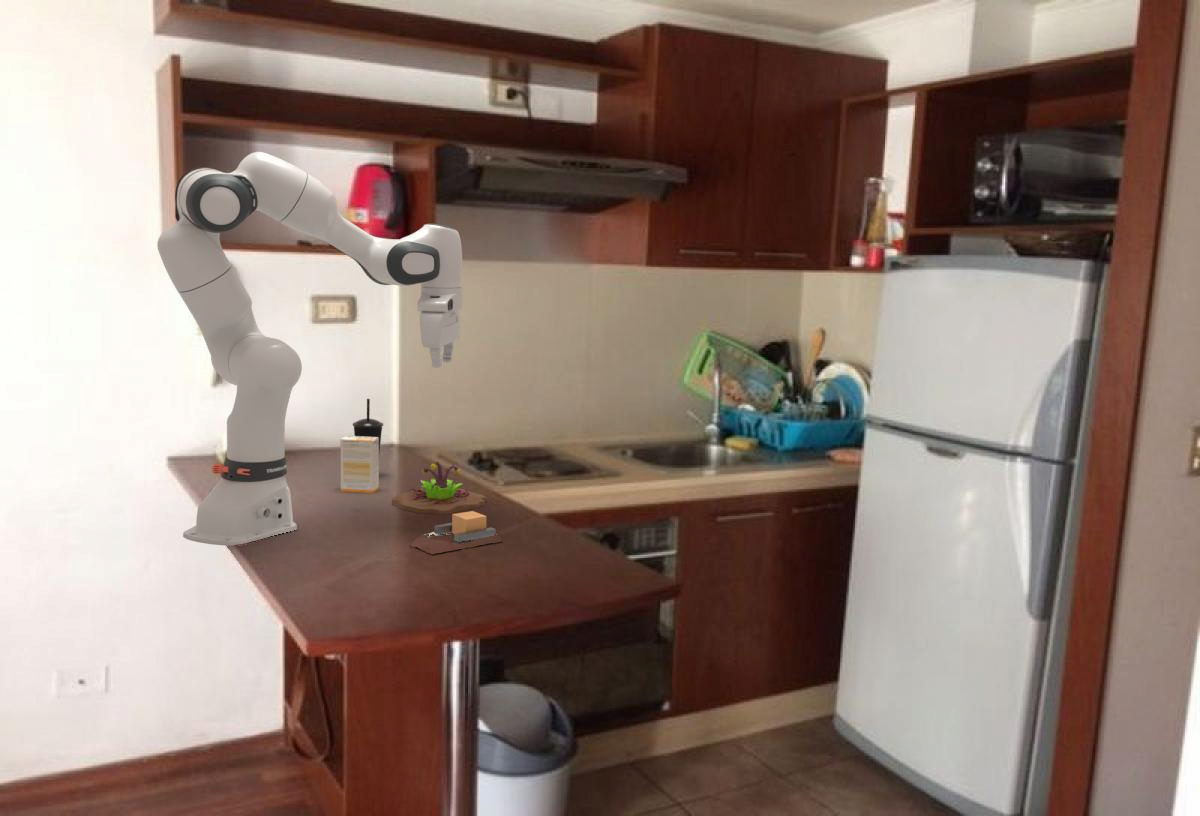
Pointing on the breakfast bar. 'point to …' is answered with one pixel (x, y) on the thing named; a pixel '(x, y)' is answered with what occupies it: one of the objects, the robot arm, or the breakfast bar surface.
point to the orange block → (468, 522)
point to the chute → (464, 535)
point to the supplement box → (359, 464)
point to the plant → (438, 495)
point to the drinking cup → (368, 426)
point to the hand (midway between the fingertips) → (442, 364)
